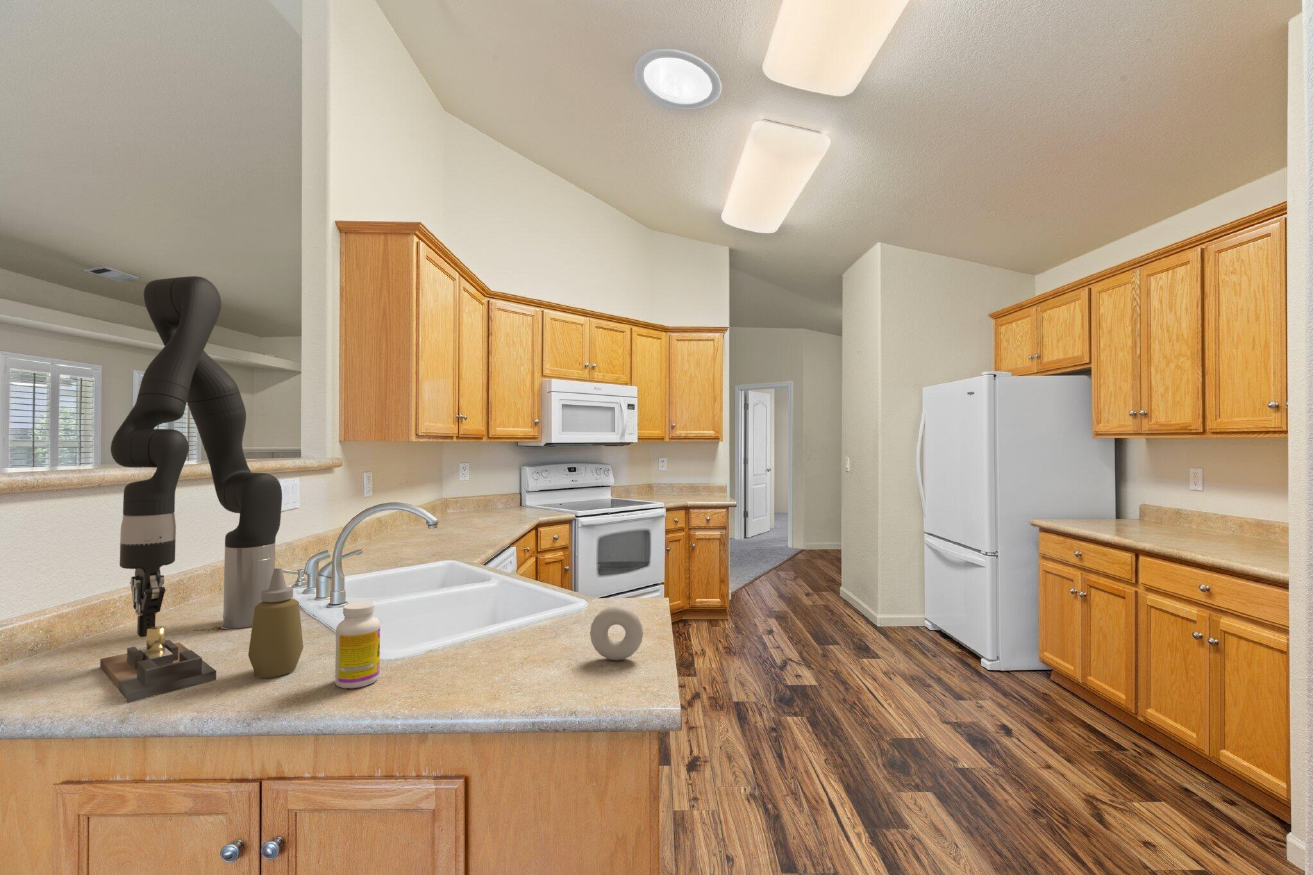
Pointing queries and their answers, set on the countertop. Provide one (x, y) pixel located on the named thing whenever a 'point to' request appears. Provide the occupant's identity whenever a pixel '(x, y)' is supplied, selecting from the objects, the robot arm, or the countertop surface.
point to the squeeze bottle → (276, 630)
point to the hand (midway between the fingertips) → (146, 635)
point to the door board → (156, 672)
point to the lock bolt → (157, 647)
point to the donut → (618, 648)
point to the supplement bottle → (357, 646)
